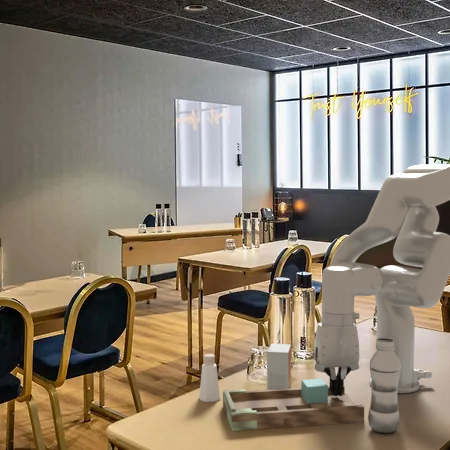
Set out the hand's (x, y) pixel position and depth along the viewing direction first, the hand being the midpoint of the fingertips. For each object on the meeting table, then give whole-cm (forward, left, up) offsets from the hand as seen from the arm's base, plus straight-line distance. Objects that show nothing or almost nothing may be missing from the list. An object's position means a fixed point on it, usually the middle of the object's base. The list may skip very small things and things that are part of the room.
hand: (336, 394), depth 145 cm
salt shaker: (+29, -10, -3) cm, 31 cm away
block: (+5, 0, -1) cm, 5 cm away
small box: (+10, -15, -3) cm, 19 cm away
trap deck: (+12, +3, -3) cm, 13 cm away
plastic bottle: (-6, +15, -3) cm, 16 cm away
